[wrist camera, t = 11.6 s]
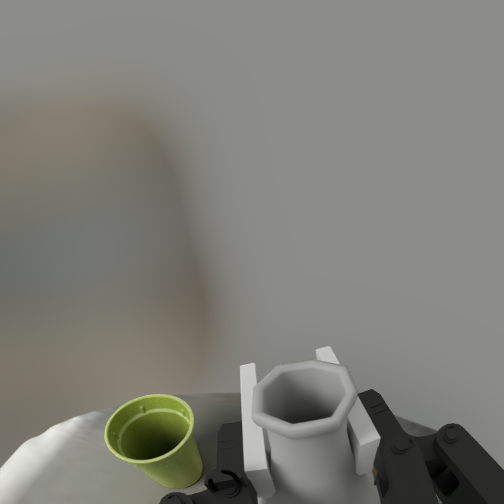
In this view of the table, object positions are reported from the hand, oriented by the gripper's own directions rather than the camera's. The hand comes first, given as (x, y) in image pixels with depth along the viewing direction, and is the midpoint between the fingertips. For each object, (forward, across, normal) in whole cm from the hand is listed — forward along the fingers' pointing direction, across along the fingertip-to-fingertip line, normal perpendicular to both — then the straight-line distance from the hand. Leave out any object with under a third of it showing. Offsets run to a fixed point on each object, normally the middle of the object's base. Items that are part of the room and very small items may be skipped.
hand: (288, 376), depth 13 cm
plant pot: (+5, -13, -17) cm, 22 cm away
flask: (-5, 0, -6) cm, 8 cm away
